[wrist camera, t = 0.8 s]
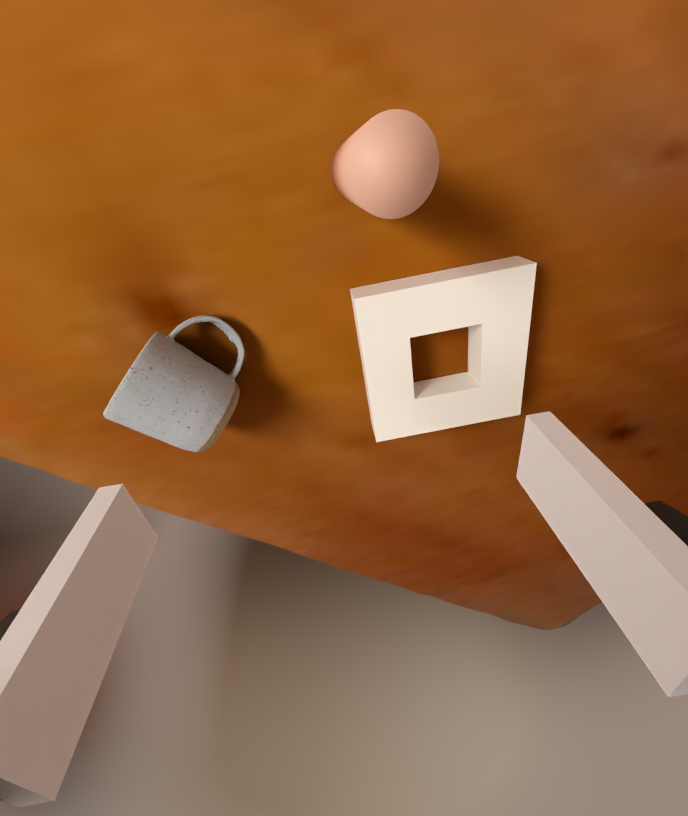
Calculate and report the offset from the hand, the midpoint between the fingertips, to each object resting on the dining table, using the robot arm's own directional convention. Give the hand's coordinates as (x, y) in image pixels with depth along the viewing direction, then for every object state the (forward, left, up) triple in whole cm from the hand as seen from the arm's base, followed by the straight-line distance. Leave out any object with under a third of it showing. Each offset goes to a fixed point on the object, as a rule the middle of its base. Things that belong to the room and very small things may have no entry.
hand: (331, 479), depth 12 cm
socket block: (+7, +10, -22) cm, 25 cm away
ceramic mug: (+4, -12, -22) cm, 25 cm away
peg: (-8, +5, -22) cm, 24 cm away
